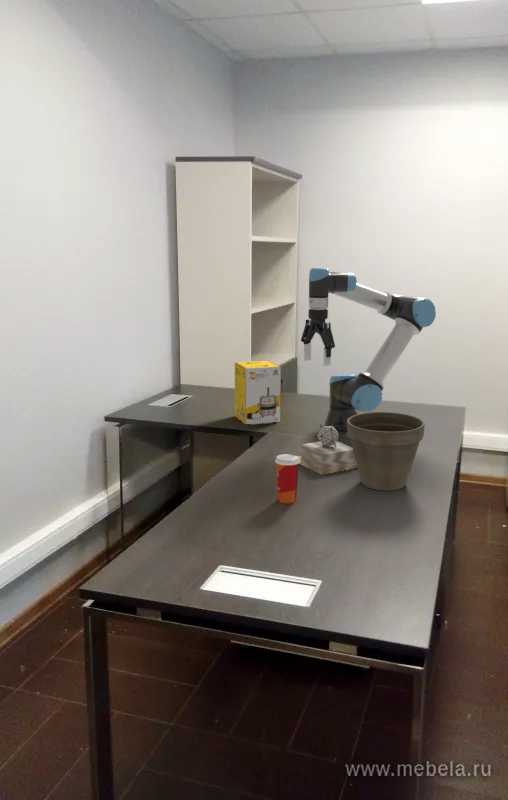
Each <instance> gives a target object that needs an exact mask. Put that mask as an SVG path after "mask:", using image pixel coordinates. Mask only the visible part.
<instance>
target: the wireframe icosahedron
mask: <svg viewBox="0 0 508 800" xmlns="http://www.w3.org/2000/svg"><path fill="white" fill-rule="evenodd" d="M319 426H320V429H319V431H318V434H317V435H316V436H314V439H318V440H319V441H318V442H321V443H322V445H323V448H324V446H332V445H335V444H336V442H337V441H338V439H339V438H340V436H342V433H339V431H337V430H336V429H335V428H334V427H333V426H334V424H332V426H325V425H321V424H320V425H319ZM335 447H336V445H335Z"/></svg>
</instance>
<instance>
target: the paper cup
mask: <svg viewBox="0 0 508 800" xmlns="http://www.w3.org/2000/svg"><path fill="white" fill-rule="evenodd" d="M298 456H299V455H295V454H290V453H289V454H287V453H285V454H284V453H283V454H278V455H277V456H276V458H275V461H274V462H275V467H276V468H275V469H276V471H275V472H276V488H277V501H278V503H280V504H286V505H287V504H293V503H294V504H295V503H296V502H297V493H298V492H297V491H298V480H299V479H298V478H299V470H300V469H299V468H300V467H299V465H300V464H299V463H300V460H299V457H298Z"/></svg>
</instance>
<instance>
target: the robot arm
mask: <svg viewBox="0 0 508 800" xmlns="http://www.w3.org/2000/svg"><path fill="white" fill-rule="evenodd" d="M329 294H332V295H334V296H335V295H336V296H337V297H341V298H343V299H345V300H349V301H352V302H353V303H356V304H359V305H362V306H364V307H368V308H370V309H373V310H375V311H376V312H377V313H378V314H379V315H382V316H383V317H387V318H389V319H391V320H394V322H395V324H394V327H393V328H392V329H391V331H390V332H389V334H388V336H387V337H386V339H385V340H384V342H383V344H382V345H381V346H380V348H379V350H378V351H377V352H376V354H375V356H374V357H373V359H372V360H371V362H370V363H369V365H368V367H367V368H366V369H365V371H363V372H359V373H358V374H356V373H341V374H340V373H339V374H333V375H331V376H330V378H329V399H328V400H329V403H328V404H329V406H328V407H329V408H328V411H327V415H326V418H325V419H324V426H332V424H334V426H333V427H334V428H335V429H336V430H337V432H347V419H348V418H350V417H351V416H354V415H357V414H358V412H363V413H370V412H373V411H374V410H376V409H377V408H378V407H380V405H381V404H382V400H383V397H382V396H383V392H382V391H383V390H384V381H385V380H386V378H387V377H388V375H389V374H390V372H391V371H392V369H393V368H394V366H395V365H396V364H397V362H398V360H399V358H400V357H401V355H402V354H403V352H404V350H406V348H407V346H408V345H409V343H410V342H411V340H412V338H413V337H414V336H417V335H420V333H421V332H422V330H423V328H427V327H430V326H431V325H432V324H433V323H434V321H435V319H436V315H437V314H436V313H437V311H436V306H435V304H434V303H433V302H432V300H430V299H429V298H426V297H423V296H419V297H418V296H410V295H404V294H403V295H402V294H393V293H391V292H386V291H385V292H381V291H379V290H376V289H373V288H370V287H367V286H366V285H363V284H360V283H358V279H357V277H356V275H355V274H354V273H353V272H338V271H337V272H334V271H330V270H329V268H327V267H313V268H310V269H309V274H308V310H307V311H308V314H307V316H308V319H306V320H305V325H304V328H303V332H302V335H301V338H300V341H301V342H302V343H303V344H304V345H303V353H304V355H303V356H304V357H303V360H304V361H311V360H312V340H313V338H314V336H315V334H318V335H319V336H320V339H321V341H322V343H323V346H324V348H323V365H322V366H324V367H326V366H331V357H332V349H335V347H336V344H335V340H334V336H333V332H332V326H331V325H332V323H331V322H326V320H327V319H328V318H329V310H328V308H329Z"/></svg>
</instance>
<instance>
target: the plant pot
mask: <svg viewBox="0 0 508 800" xmlns="http://www.w3.org/2000/svg"><path fill="white" fill-rule="evenodd" d="M425 424H426V423H425V421H424V420H422V419H421V418H420V417H416V416H414V415H411V414H406V413H401V412H394V411H393V412H391V411H374V412H373V411H370V412H363V413H357V415H354V416H351V417H350V418H348V419H347V431H346V432H347V436H348V438H350V443H351V447H352V448H353V452H354V456H355V460H356V464H357V472H358V476H359V479H360V482H361V484H362V485H363V486H364V487H366V488H369V489H371V488H372V489H371V490H375V489H376V490H375V491H382V490H383V491H385V492H389V491H391V492H393V491H397V490H400V489H403V488H404V487H406V485H407V483H408V479H409V477H410V474H411V473H410V472H411V471H412V467H413V462H414V461H415V458H416V455H417V452H418V448H419V446H420V442H421V441H422V440H423V439H424V436H425V426H426V425H425Z"/></svg>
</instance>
